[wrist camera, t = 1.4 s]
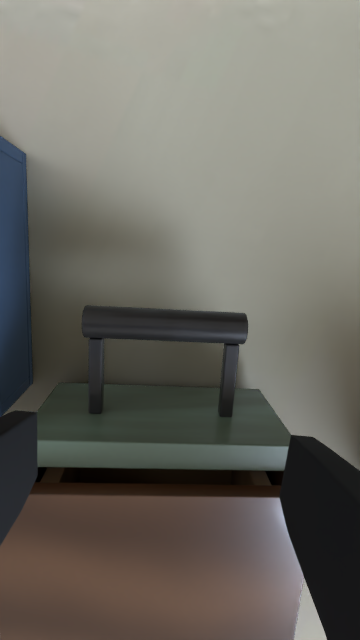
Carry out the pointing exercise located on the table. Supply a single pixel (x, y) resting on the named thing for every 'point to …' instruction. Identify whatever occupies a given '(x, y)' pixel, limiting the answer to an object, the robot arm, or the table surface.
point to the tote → (14, 278)
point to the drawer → (160, 412)
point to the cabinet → (149, 563)
